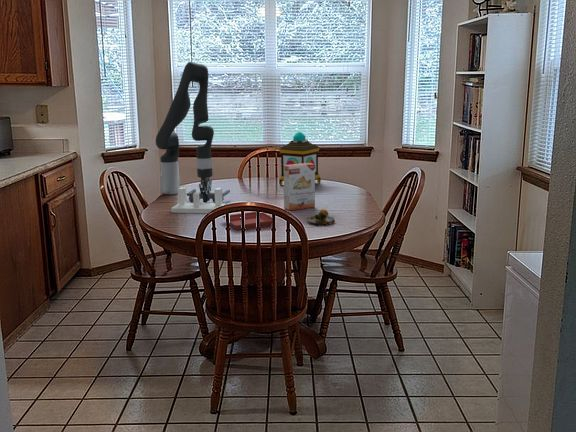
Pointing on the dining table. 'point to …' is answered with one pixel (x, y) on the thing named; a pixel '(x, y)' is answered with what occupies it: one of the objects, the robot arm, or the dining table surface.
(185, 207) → the display stand
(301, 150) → the decorative lantern
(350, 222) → the dining table surface
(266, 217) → the plant saucer
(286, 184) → the cracker box
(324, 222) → the small succulent plant
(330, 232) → the dining table surface
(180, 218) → the dining table surface
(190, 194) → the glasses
